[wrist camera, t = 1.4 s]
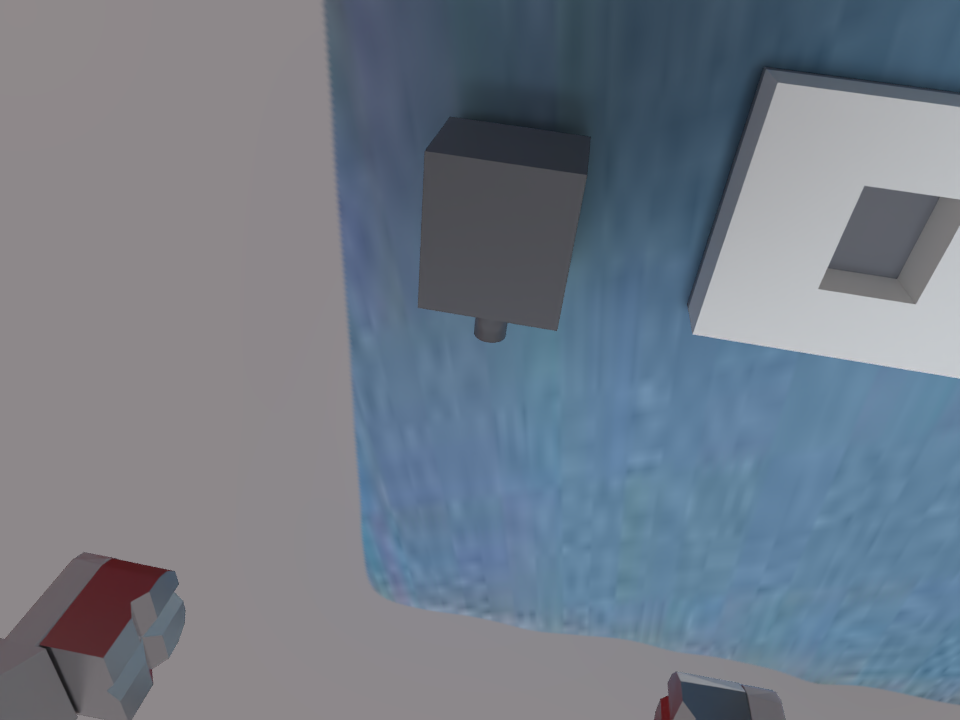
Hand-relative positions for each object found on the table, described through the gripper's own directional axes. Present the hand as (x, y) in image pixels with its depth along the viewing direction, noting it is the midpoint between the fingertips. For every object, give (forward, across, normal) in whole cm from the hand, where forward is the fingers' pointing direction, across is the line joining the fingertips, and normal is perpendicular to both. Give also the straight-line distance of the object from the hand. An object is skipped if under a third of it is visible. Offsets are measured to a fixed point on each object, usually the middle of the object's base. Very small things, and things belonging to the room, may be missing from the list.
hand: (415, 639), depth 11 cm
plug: (+26, +1, +3) cm, 27 cm away
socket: (+26, -22, +1) cm, 34 cm away
